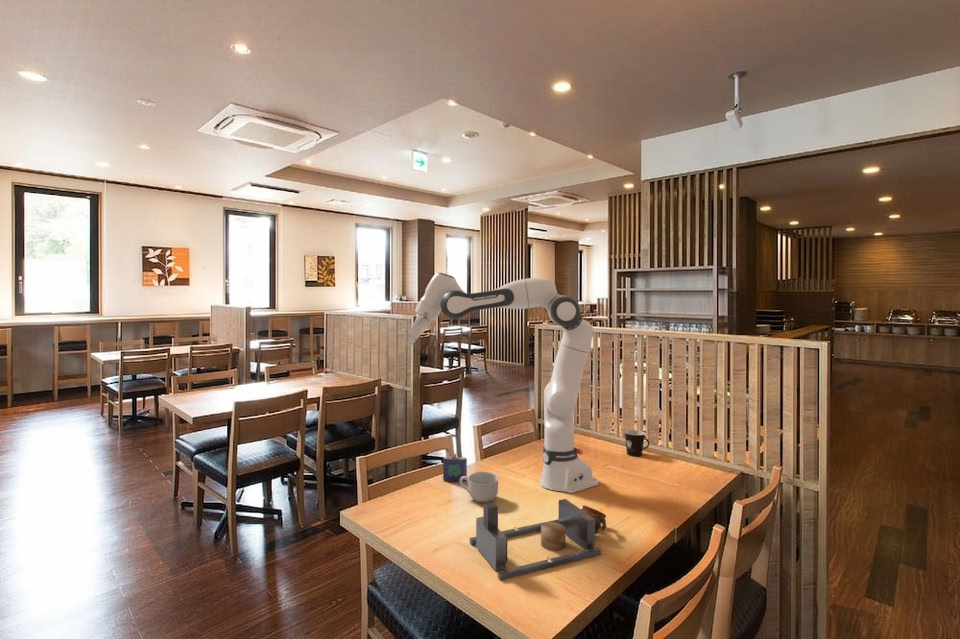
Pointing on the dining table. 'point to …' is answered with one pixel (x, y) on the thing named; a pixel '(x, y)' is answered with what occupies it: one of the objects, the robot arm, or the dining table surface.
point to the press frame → (577, 529)
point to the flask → (454, 468)
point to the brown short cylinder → (553, 536)
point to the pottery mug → (596, 517)
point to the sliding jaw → (491, 537)
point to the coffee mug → (635, 442)
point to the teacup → (481, 486)
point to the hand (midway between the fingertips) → (410, 344)
